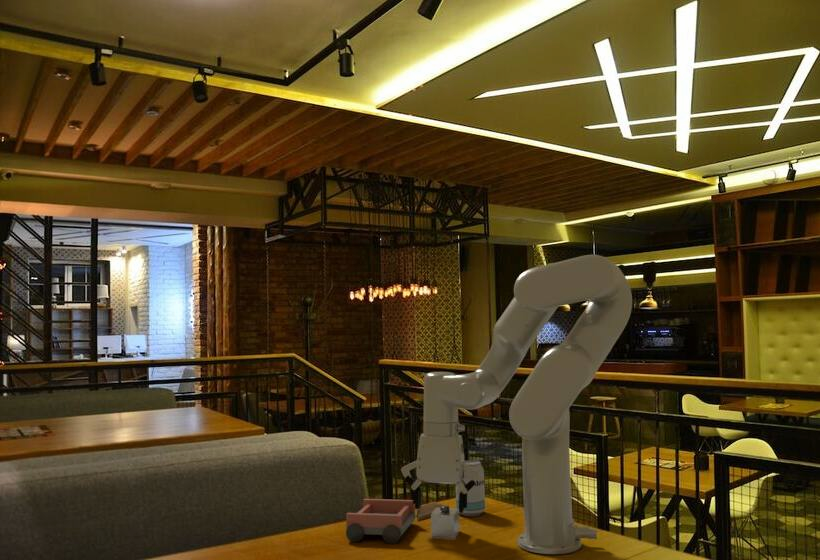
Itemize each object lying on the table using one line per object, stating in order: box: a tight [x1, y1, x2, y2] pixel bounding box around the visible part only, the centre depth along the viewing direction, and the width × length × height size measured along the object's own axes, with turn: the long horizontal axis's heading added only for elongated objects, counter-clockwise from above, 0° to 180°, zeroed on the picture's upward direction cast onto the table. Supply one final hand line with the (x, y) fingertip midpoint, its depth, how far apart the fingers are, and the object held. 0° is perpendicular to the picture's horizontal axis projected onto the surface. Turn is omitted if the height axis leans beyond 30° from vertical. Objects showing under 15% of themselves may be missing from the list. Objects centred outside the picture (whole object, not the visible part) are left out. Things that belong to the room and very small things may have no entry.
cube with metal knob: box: [430, 504, 460, 540], centre depth 143 cm, size 5×6×6 cm
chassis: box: [345, 498, 417, 545], centre depth 146 cm, size 12×15×6 cm
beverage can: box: [454, 459, 486, 517], centre depth 159 cm, size 7×7×12 cm
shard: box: [415, 501, 445, 521], centre depth 160 cm, size 11×8×2 cm
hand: (439, 509), depth 144 cm, fingers open, 9 cm apart
